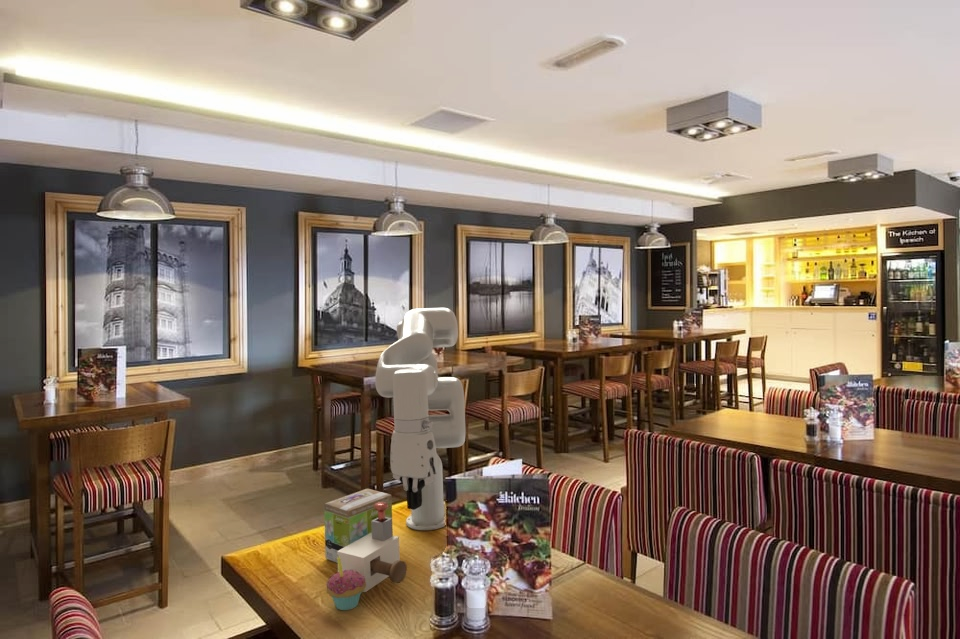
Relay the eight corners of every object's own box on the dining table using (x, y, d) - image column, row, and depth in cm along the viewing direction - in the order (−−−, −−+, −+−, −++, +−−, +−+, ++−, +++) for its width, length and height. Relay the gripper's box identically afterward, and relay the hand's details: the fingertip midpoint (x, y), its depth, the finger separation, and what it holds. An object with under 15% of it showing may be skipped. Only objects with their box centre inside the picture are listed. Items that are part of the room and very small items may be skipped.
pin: (407, 578, 142) (406, 557, 141) (393, 587, 137) (393, 566, 137) (363, 566, 148) (362, 547, 148) (349, 574, 144) (348, 554, 144)
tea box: (350, 569, 152) (348, 510, 151) (324, 559, 158) (322, 502, 157) (394, 547, 164) (392, 493, 163) (368, 539, 170) (366, 486, 169)
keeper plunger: (381, 522, 153) (380, 501, 152) (391, 524, 151) (390, 503, 151) (372, 526, 150) (371, 505, 150) (382, 529, 148) (381, 507, 148)
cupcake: (347, 618, 129) (344, 562, 128) (318, 608, 133) (315, 554, 133) (374, 600, 136) (372, 547, 135) (346, 591, 141) (344, 540, 140)
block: (374, 562, 155) (372, 514, 154) (400, 568, 151) (398, 519, 150) (338, 584, 144) (336, 532, 143) (364, 592, 140) (362, 538, 139)
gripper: (449, 424, 135) (452, 507, 135) (395, 419, 142) (398, 497, 143) (429, 431, 128) (432, 518, 129) (374, 425, 136) (377, 507, 136)
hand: (414, 507), depth 136 cm, fingers closed
